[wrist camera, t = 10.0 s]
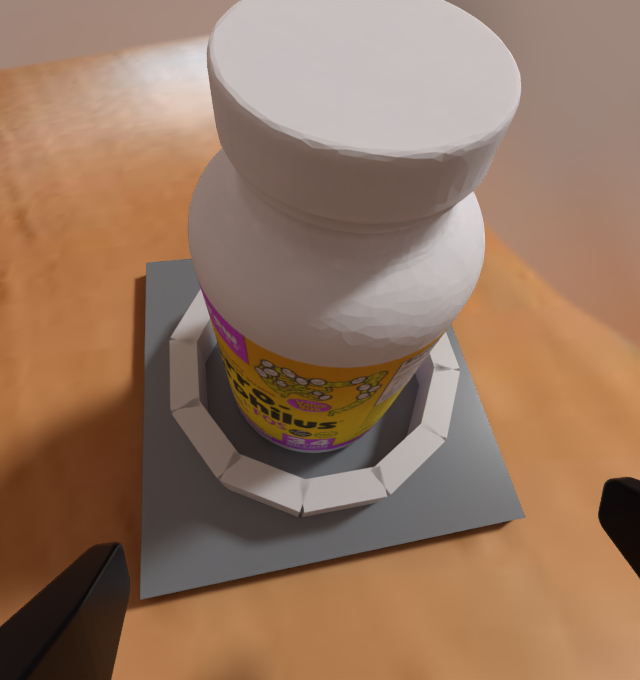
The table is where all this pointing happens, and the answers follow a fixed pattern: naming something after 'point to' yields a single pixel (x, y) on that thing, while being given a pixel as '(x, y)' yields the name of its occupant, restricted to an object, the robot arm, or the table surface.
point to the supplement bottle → (343, 201)
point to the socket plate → (295, 461)
